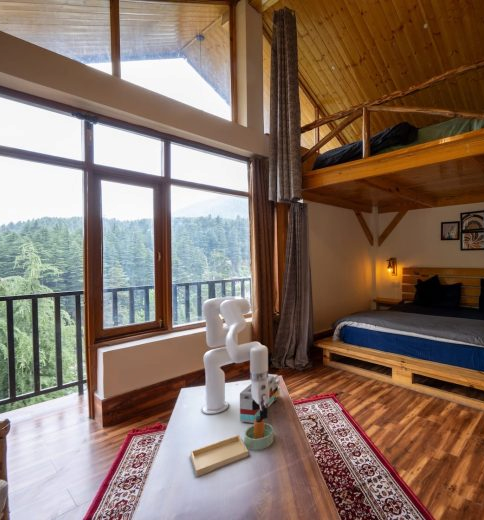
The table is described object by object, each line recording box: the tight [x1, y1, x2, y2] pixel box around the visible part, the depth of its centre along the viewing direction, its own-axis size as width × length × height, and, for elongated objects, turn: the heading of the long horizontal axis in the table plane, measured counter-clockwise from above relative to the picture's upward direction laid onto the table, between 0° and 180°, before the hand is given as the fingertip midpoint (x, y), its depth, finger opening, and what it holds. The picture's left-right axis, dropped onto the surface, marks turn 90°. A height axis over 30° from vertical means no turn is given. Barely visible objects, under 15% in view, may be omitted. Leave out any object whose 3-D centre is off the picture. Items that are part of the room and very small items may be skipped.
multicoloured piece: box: [239, 373, 281, 424], centre depth 159 cm, size 8×30×15 cm, turn 168°
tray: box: [190, 434, 249, 478], centre depth 121 cm, size 13×19×2 cm
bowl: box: [244, 422, 274, 451], centre depth 130 cm, size 12×12×5 cm
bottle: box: [253, 416, 265, 439], centre depth 130 cm, size 4×4×11 cm
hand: (259, 413), depth 130 cm, fingers open, 9 cm apart
